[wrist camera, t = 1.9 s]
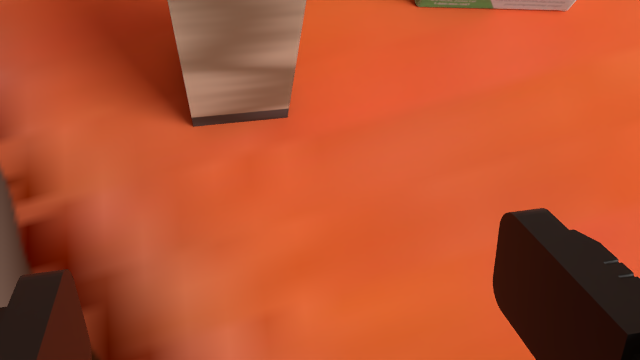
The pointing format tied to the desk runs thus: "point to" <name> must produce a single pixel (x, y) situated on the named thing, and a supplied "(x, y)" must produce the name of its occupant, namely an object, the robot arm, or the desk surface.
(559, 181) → the desk surface
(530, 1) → the ink box
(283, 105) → the tall wooden block
